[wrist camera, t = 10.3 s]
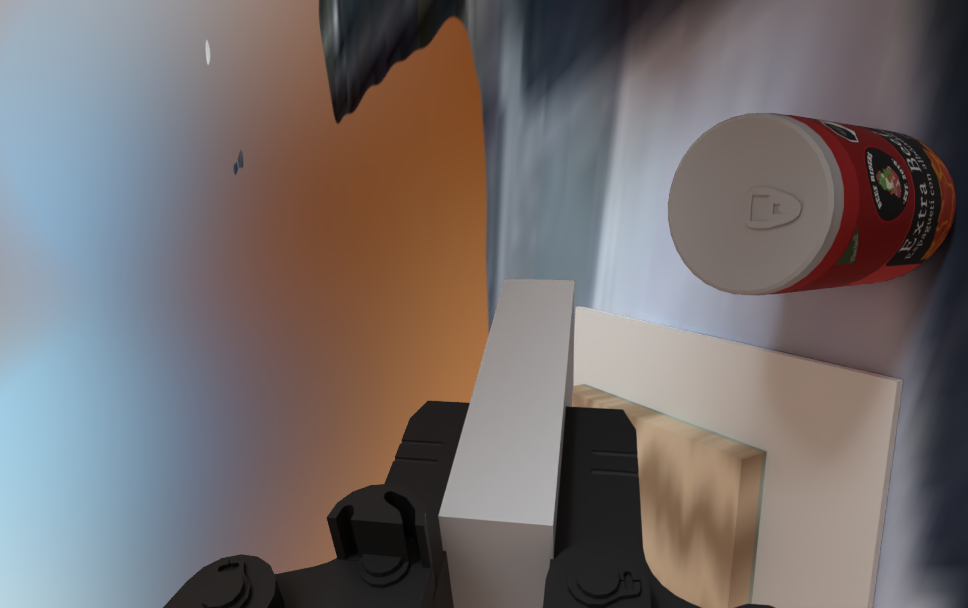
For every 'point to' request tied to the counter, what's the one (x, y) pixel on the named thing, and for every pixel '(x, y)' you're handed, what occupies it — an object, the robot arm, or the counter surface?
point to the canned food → (806, 205)
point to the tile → (693, 503)
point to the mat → (771, 443)
